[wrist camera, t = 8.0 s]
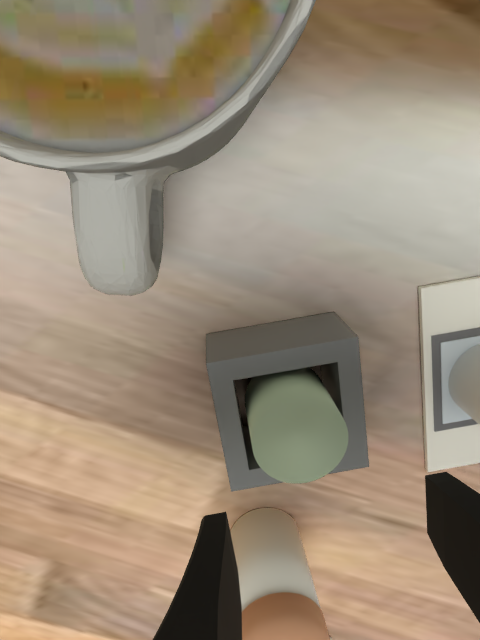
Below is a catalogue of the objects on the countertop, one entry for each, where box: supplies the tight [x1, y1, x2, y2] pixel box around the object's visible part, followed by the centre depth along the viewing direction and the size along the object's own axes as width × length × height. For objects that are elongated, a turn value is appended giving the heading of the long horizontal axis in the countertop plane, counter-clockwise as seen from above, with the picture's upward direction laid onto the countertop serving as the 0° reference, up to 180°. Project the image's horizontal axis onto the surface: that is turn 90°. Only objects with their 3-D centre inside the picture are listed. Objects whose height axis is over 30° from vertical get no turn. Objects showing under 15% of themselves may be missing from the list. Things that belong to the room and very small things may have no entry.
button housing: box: [206, 312, 369, 492], centre depth 20 cm, size 6×6×4 cm
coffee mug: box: [0, 0, 316, 296], centre depth 13 cm, size 13×10×10 cm
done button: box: [245, 367, 348, 483], centre depth 18 cm, size 4×4×4 cm
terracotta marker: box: [230, 508, 330, 640], centre depth 21 cm, size 4×4×7 cm
